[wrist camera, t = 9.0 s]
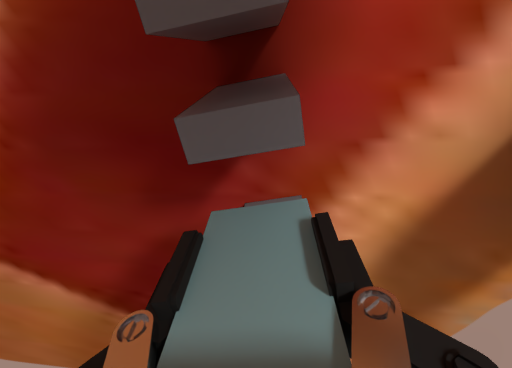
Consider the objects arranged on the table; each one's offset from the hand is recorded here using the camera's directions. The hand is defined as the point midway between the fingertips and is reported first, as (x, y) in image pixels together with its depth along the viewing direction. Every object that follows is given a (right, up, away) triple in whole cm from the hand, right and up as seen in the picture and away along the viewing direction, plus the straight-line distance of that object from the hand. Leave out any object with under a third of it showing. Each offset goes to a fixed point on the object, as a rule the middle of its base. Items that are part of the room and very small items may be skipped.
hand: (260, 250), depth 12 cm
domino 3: (0, +1, +2) cm, 2 cm away
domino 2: (0, +10, +8) cm, 12 cm away
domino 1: (-1, +14, +5) cm, 15 cm away
